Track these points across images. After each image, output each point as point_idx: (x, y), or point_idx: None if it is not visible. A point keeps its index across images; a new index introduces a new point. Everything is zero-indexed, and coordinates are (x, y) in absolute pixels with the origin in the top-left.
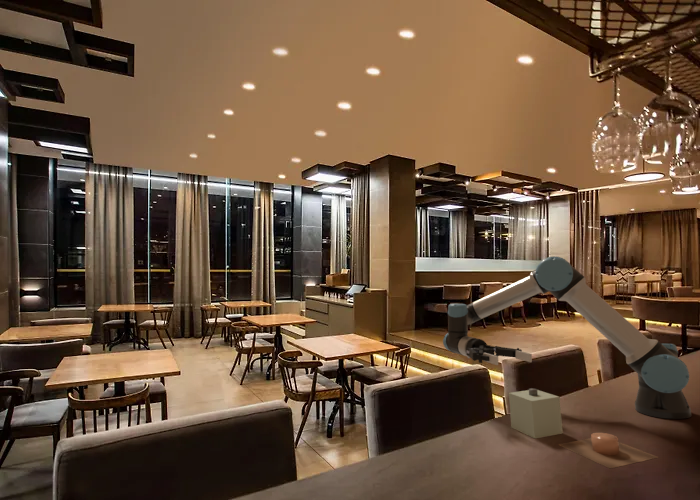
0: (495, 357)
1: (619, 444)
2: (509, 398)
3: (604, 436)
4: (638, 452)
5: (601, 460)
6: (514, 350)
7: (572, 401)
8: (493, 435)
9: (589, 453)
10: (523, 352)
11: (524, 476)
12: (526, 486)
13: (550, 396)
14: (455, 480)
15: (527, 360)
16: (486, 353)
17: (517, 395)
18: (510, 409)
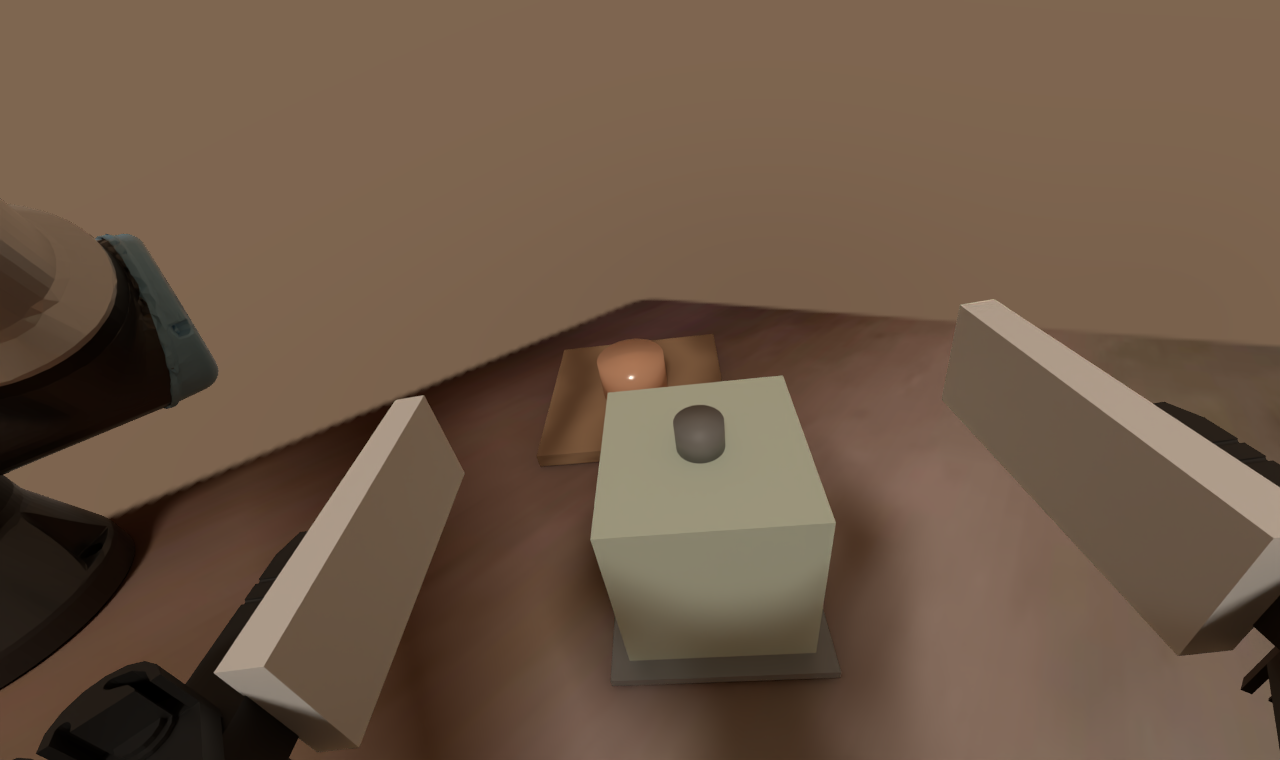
0: (1002, 322)
1: (564, 404)
2: (831, 543)
3: (628, 357)
4: (575, 369)
5: (697, 356)
6: (206, 749)
7: None
8: (944, 654)
9: (691, 383)
10: (373, 479)
11: (926, 365)
12: (938, 338)
13: (641, 404)
14: (1159, 377)
15: (447, 493)
16: (1203, 458)
17: (803, 459)
18: (823, 586)
